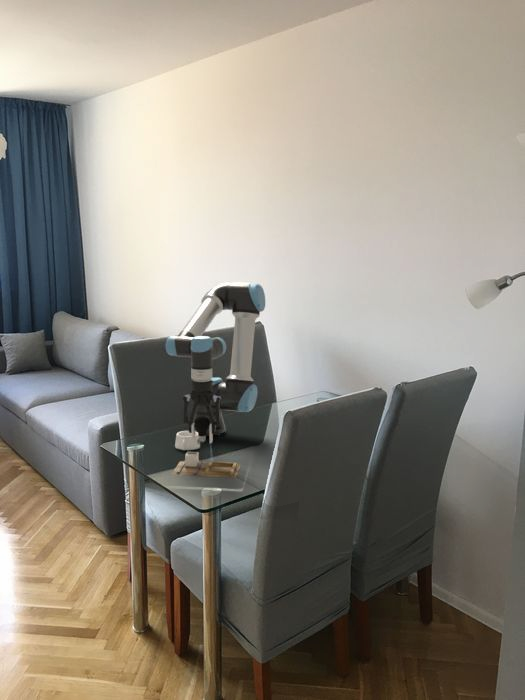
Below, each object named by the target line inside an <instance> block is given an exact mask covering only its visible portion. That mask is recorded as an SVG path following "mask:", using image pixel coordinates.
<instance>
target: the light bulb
mask: <svg viewBox="0 0 525 700" xmlns="http://www.w3.org/2000/svg"><path fill="white" fill-rule="evenodd" d="M194 426H195V428H196V430H197V431H198V435H199V441H200V443H204V442H206V438H207V437H206V433H207V430H208V429H209V426H210V420H209V419H208V417H206V416H199V417H197V418H196V419H195V421H194Z"/></svg>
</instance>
